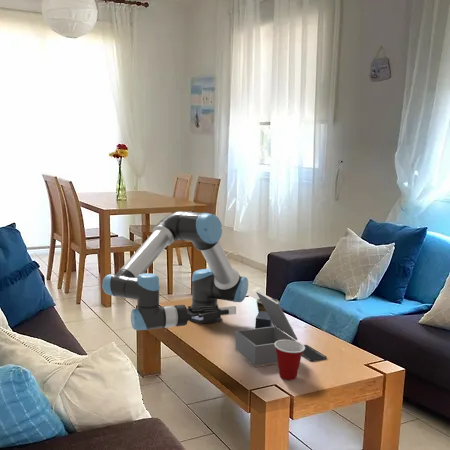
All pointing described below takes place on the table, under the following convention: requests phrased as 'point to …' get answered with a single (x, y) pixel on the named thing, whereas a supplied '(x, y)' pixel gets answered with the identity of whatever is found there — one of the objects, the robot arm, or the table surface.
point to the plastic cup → (288, 358)
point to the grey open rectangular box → (259, 345)
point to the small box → (263, 320)
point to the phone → (312, 354)
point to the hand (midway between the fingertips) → (235, 310)
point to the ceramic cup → (260, 305)
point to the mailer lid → (276, 314)
